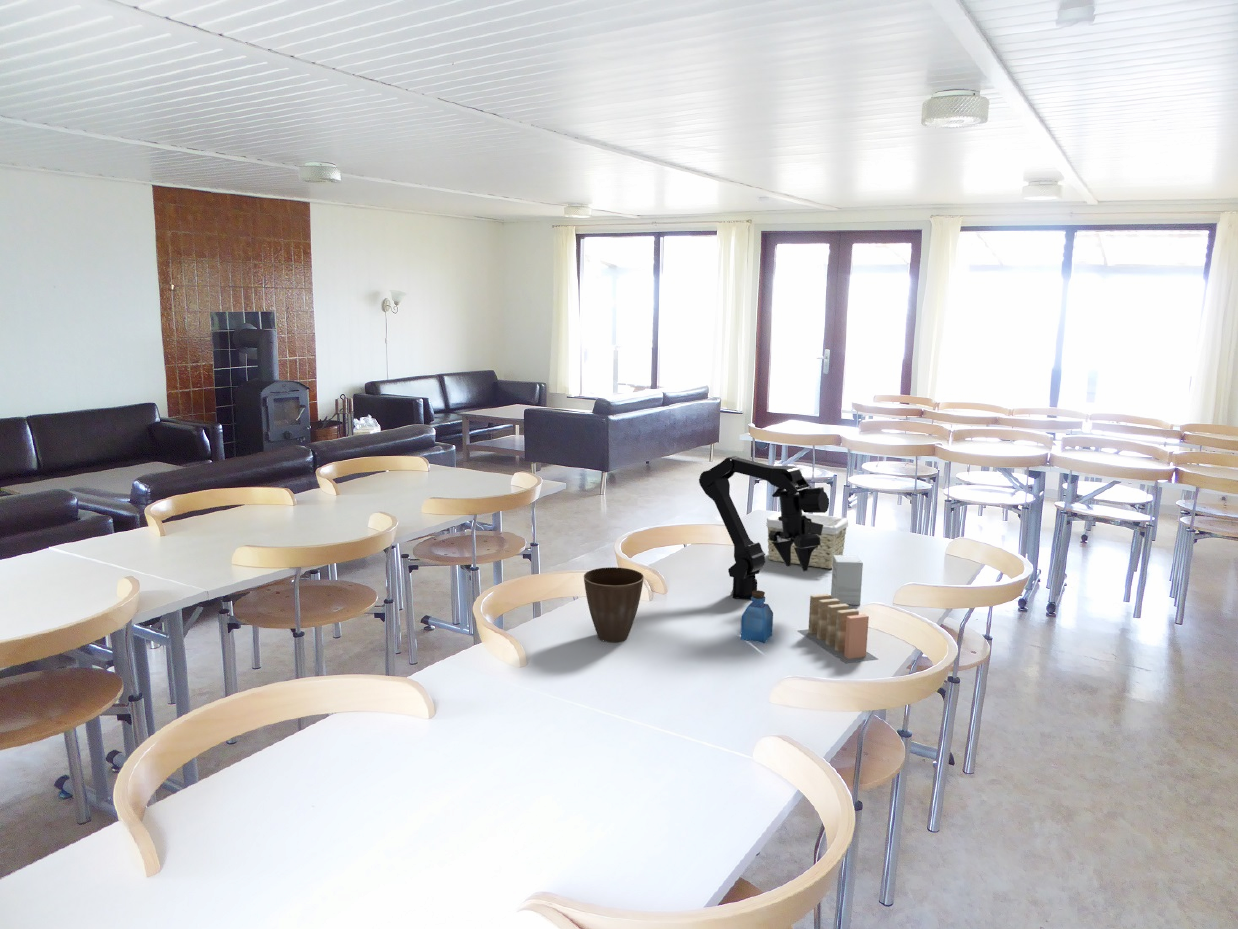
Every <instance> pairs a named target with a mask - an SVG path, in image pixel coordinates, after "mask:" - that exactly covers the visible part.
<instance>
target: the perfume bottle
mask: <svg viewBox="0 0 1238 929" xmlns="http://www.w3.org/2000/svg"><path fill="white" fill-rule="evenodd" d="M752 594H753V596H751V599H750V600H751V602H750V604H748V605H747V607H746V608H745V610H744V611H743V613H742V615H741V620H740V621H741V624H740V640H742V641H746V642H748V641H752V642H757V643H762V644H765V643H766V642H767V641H768V640H769V639H770V638H771V637H772V636H773V625H774V624H773V621H774V612H773V610H772V609H771V607H770V605H769V604H768V603H765V602H766V596H765V594H766V592H765V591H763V590H758V589H757V590H756V591H752Z"/></svg>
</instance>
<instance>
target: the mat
mask: <svg viewBox="0 0 1238 929" xmlns="http://www.w3.org/2000/svg"><path fill="white" fill-rule="evenodd" d="M808 629H809V628H807V629H801V630H797V632H798V633H800V634H801V635H803V636H804V637H805V638H807V639H808V640H810V641H812V642H813V643H814V644H816V645H817V646H819V647H820V648H821V649H823V650H825V651H826V652H828V653H829V654H831V655H832V656H834V657H835V658H837V659H839V660H840V661H842V662H843V663H845V664H854V663H862V662H866V661H867V662H868V661H874V660H875V661H876V660H879V658H878V657H876V656H874V655H873V654H871V653H869V652H868V651H867V650H866V656H865V657H858V658H850V659H848V658H846V657H844V652H839V653H838V652H837V651H835V646H828V645H826V640H821V641H820V640H819V639H817V634H815V635H811V634H809V633H808Z"/></svg>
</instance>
